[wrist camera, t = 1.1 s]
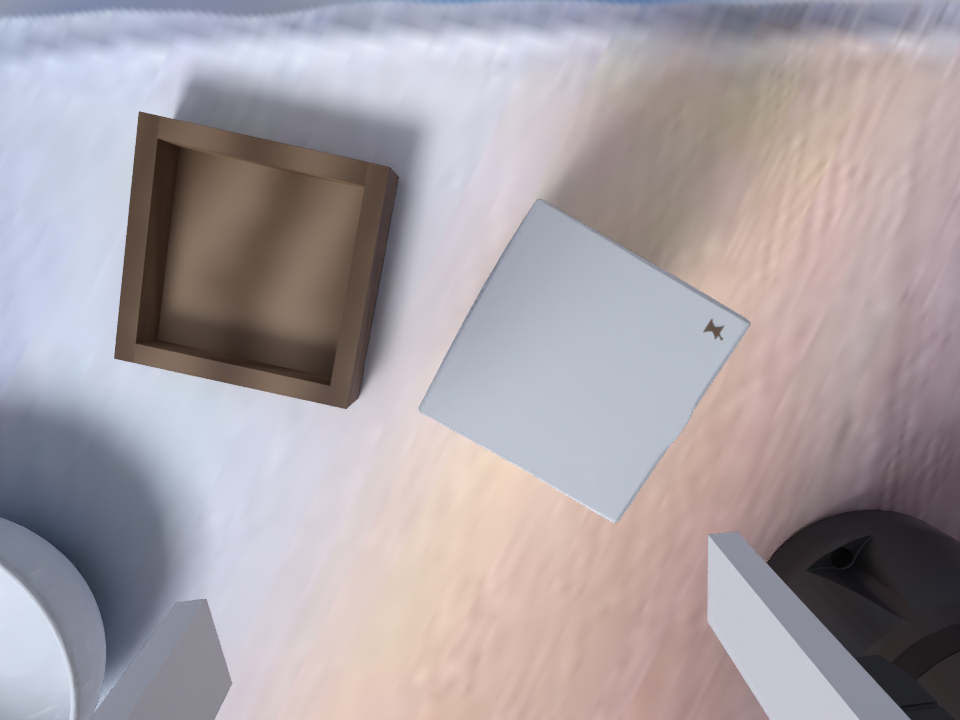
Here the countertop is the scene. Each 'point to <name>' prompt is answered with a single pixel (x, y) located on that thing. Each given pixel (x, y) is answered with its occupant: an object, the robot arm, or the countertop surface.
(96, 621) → the serving bowl
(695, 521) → the countertop surface
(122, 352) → the brown wooden tray
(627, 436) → the supplement box
